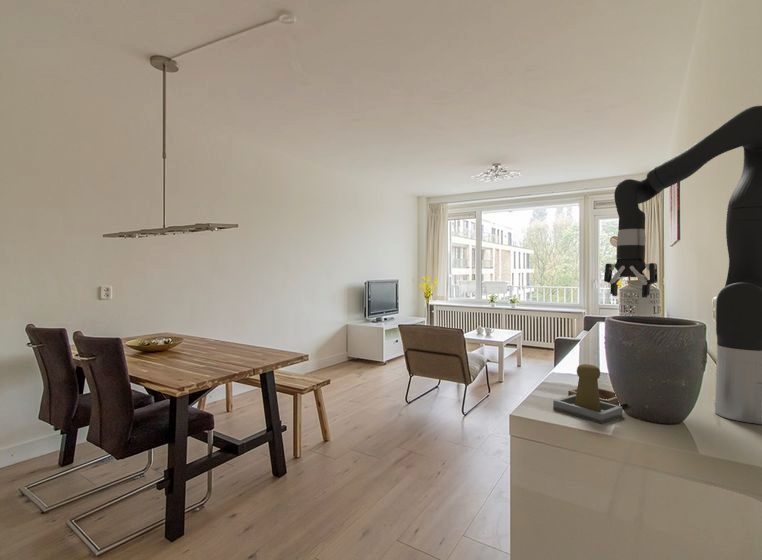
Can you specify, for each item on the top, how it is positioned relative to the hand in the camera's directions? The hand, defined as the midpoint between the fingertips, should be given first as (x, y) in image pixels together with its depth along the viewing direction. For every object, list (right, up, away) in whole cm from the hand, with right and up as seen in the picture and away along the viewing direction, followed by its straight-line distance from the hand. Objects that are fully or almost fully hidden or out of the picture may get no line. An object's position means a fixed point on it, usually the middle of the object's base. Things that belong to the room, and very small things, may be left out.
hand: (629, 296), depth 123 cm
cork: (-26, -27, -25) cm, 45 cm away
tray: (-26, -28, -25) cm, 46 cm away
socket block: (-19, -28, -16) cm, 37 cm away
